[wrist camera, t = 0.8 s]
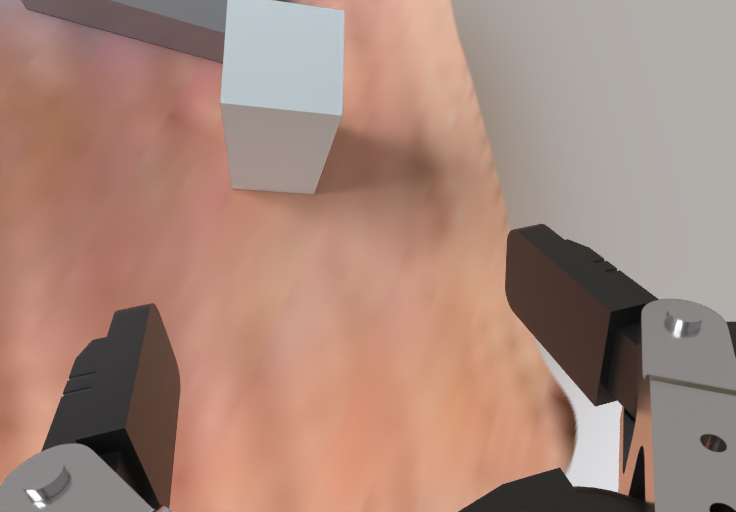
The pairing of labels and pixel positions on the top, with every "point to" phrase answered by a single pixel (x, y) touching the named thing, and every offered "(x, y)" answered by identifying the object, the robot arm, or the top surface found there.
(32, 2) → the block
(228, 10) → the block
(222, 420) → the top surface
